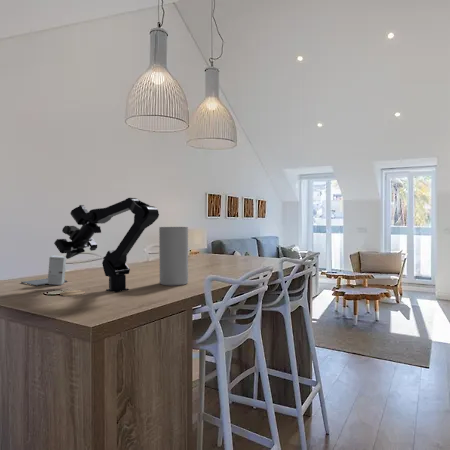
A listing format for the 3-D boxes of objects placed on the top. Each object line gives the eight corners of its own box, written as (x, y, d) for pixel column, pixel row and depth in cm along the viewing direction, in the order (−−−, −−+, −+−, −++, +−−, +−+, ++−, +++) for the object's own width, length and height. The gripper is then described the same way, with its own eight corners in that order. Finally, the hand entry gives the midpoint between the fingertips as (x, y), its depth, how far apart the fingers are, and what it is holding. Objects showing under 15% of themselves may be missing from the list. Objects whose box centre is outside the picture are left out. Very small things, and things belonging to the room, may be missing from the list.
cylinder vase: (190, 281, 170) (190, 226, 169) (185, 286, 157) (184, 227, 157) (163, 281, 171) (163, 226, 171) (156, 285, 158) (155, 227, 158)
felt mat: (67, 281, 170) (67, 280, 170) (36, 286, 158) (36, 284, 158) (50, 279, 178) (50, 277, 178) (20, 283, 167) (20, 281, 167)
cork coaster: (89, 293, 143) (89, 292, 143) (68, 297, 136) (68, 296, 136) (76, 290, 148) (76, 289, 148) (54, 294, 141) (54, 293, 141)
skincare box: (47, 284, 160) (48, 256, 159) (50, 282, 165) (52, 255, 164) (62, 285, 161) (63, 257, 160) (65, 282, 166) (66, 255, 165)
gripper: (92, 219, 166) (74, 243, 171) (57, 219, 149) (38, 245, 154) (105, 237, 163) (87, 261, 167) (71, 239, 146) (52, 265, 151)
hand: (67, 258), depth 160 cm, fingers closed
